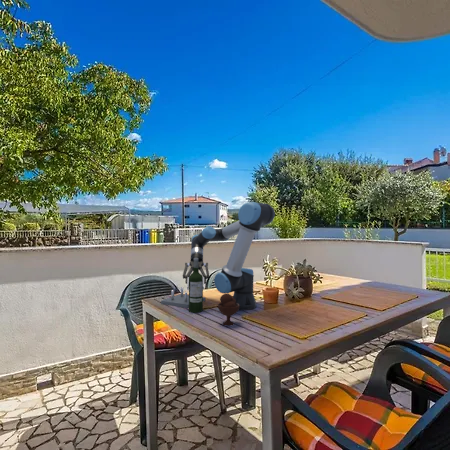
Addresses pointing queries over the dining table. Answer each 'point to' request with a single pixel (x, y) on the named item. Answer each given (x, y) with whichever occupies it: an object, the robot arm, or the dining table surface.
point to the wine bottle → (195, 289)
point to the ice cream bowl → (228, 307)
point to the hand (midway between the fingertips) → (195, 288)
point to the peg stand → (178, 300)
